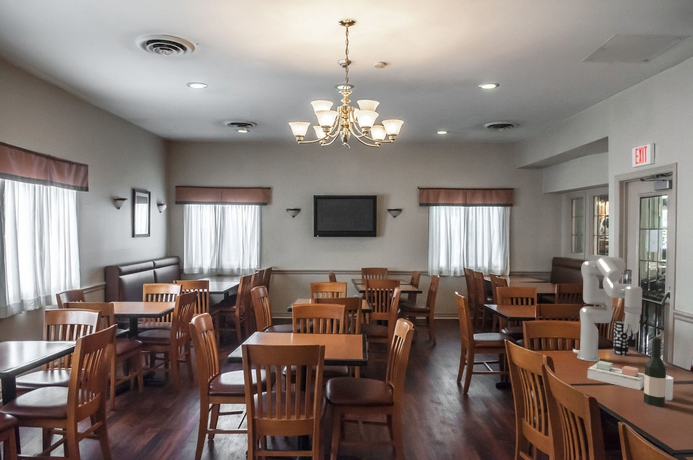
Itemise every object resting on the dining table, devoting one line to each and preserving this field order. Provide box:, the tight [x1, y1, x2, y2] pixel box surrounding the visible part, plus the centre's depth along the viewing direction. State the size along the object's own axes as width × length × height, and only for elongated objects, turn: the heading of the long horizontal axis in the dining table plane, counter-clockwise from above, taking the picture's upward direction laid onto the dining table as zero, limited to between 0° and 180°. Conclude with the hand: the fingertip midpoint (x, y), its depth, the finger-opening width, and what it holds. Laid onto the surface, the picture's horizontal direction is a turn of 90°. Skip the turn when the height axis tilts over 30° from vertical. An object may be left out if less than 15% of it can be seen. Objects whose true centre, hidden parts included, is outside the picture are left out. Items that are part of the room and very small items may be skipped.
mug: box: [665, 374, 674, 401], centre depth 228 cm, size 12×9×10 cm
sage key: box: [596, 360, 613, 371], centre depth 253 cm, size 6×6×3 cm
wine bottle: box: [643, 335, 667, 407], centre depth 218 cm, size 8×8×30 cm
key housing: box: [586, 363, 645, 391], centre depth 249 cm, size 24×14×5 cm, turn 47°
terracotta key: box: [621, 365, 639, 377], centre depth 245 cm, size 6×6×3 cm
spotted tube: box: [612, 320, 629, 357], centre depth 306 cm, size 8×8×20 cm
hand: (631, 346), depth 245 cm, fingers closed
